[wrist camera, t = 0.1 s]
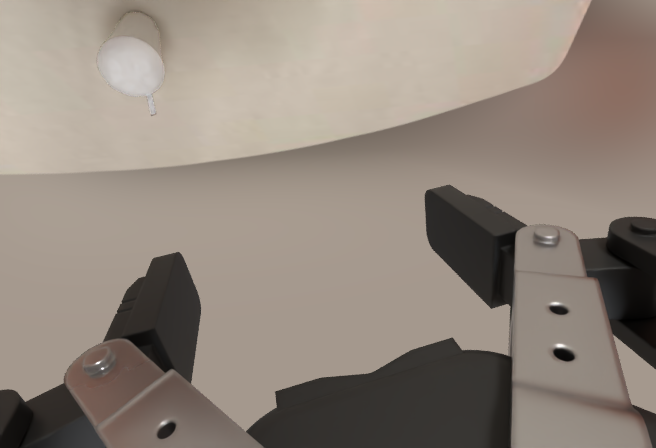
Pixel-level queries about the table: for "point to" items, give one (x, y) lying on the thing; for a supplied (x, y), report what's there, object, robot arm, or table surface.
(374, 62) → the table surface
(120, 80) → the milkshake
